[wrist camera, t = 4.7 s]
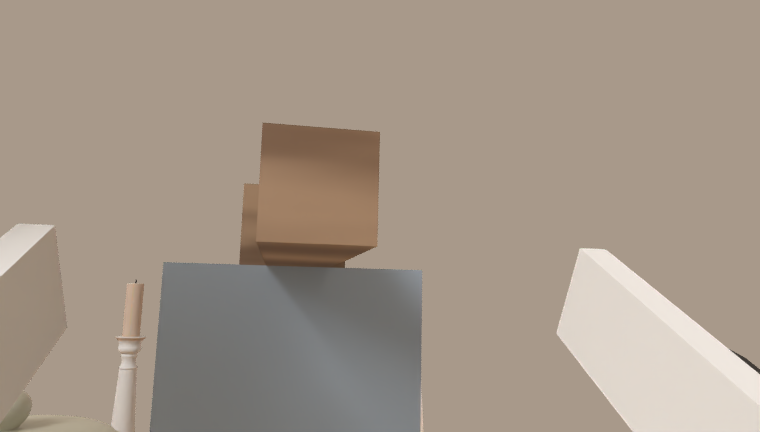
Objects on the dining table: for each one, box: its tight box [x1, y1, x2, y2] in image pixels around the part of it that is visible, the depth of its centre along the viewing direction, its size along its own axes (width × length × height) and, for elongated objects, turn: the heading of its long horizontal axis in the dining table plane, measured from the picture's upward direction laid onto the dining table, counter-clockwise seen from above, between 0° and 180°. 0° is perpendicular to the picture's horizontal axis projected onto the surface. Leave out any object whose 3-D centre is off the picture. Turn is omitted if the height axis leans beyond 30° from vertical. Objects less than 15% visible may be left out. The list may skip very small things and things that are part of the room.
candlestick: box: [111, 280, 146, 432], centre depth 65 cm, size 13×13×30 cm
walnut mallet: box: [239, 123, 380, 268], centre depth 28 cm, size 30×7×6 cm, turn 11°
